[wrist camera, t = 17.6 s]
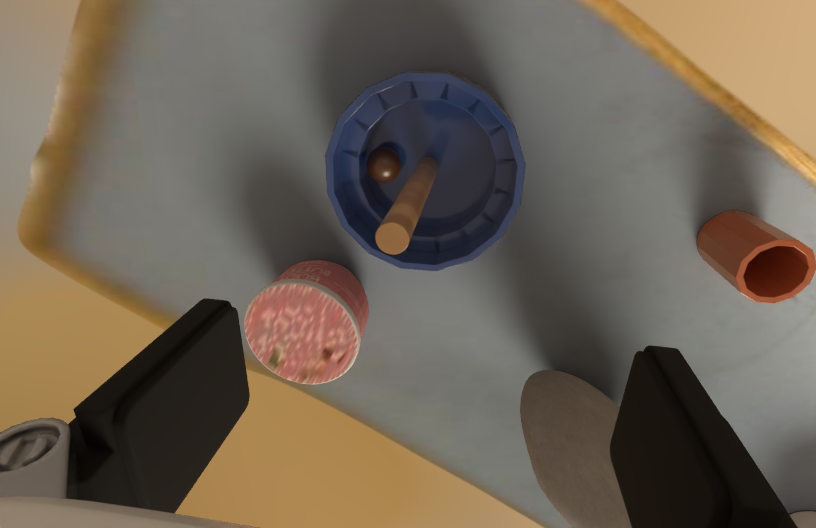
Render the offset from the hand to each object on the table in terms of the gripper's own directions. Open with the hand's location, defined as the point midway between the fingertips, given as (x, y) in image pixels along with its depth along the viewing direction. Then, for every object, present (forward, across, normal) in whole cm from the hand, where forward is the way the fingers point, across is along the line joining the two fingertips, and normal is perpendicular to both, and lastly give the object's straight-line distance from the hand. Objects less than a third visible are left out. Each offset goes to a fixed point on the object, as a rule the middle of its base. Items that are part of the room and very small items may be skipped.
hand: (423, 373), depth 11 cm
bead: (+30, +7, +2) cm, 30 cm away
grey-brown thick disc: (+32, -14, +25) cm, 43 cm away
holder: (+32, -23, +7) cm, 40 cm away
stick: (+31, +3, +2) cm, 31 cm away
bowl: (+32, +3, +2) cm, 32 cm away
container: (+32, +13, +16) cm, 38 cm away
